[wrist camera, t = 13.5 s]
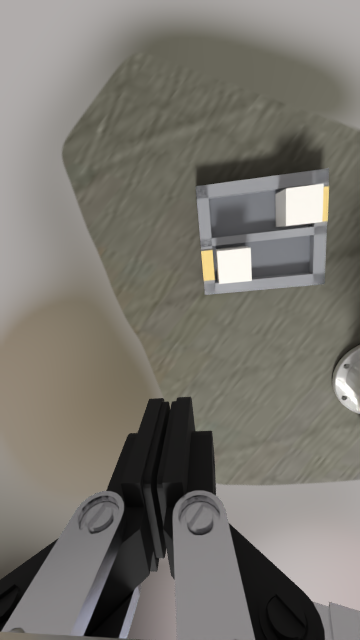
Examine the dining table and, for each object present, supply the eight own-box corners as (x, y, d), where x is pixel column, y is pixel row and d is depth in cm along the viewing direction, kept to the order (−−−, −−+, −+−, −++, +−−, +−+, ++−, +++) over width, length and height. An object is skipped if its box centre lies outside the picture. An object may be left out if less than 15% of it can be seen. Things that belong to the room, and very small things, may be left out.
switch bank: (316, 280, 40) (325, 284, 37) (205, 290, 42) (205, 294, 39) (320, 172, 36) (329, 167, 33) (196, 189, 38) (195, 186, 35)
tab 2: (307, 223, 36) (322, 221, 32) (275, 226, 37) (285, 226, 32) (307, 190, 35) (323, 183, 31) (275, 194, 36) (286, 188, 31)
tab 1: (246, 275, 39) (251, 280, 34) (217, 277, 40) (219, 284, 35) (245, 245, 38) (250, 247, 33) (215, 249, 38) (216, 251, 34)
